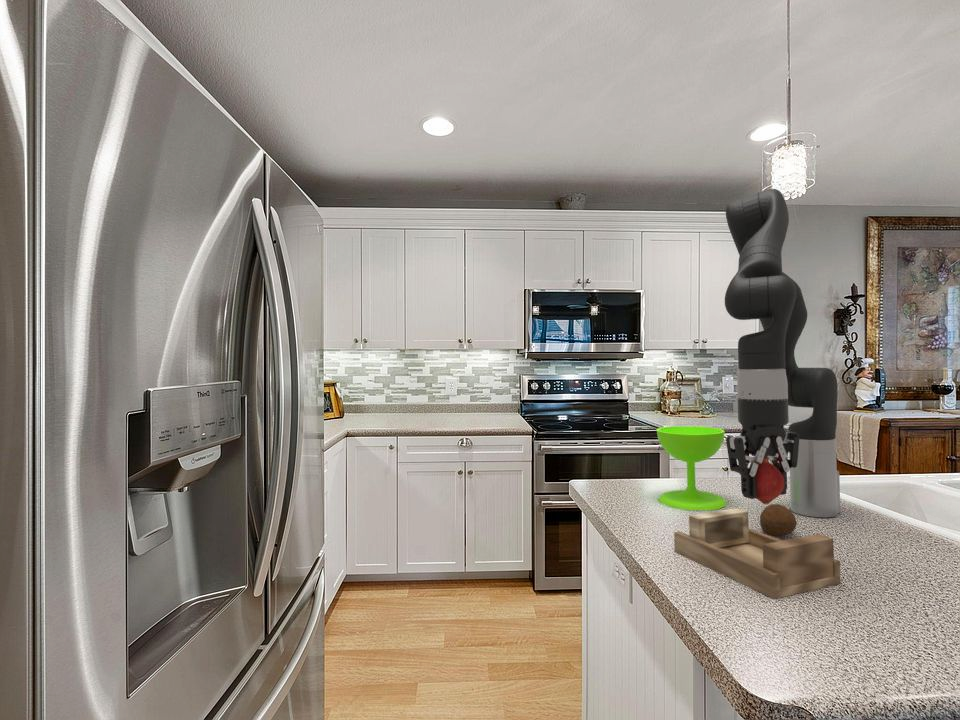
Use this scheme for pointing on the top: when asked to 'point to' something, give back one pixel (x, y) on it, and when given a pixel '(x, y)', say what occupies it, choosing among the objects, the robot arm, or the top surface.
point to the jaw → (720, 527)
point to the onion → (768, 482)
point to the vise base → (769, 562)
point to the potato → (777, 520)
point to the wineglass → (691, 463)
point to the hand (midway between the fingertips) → (764, 495)
